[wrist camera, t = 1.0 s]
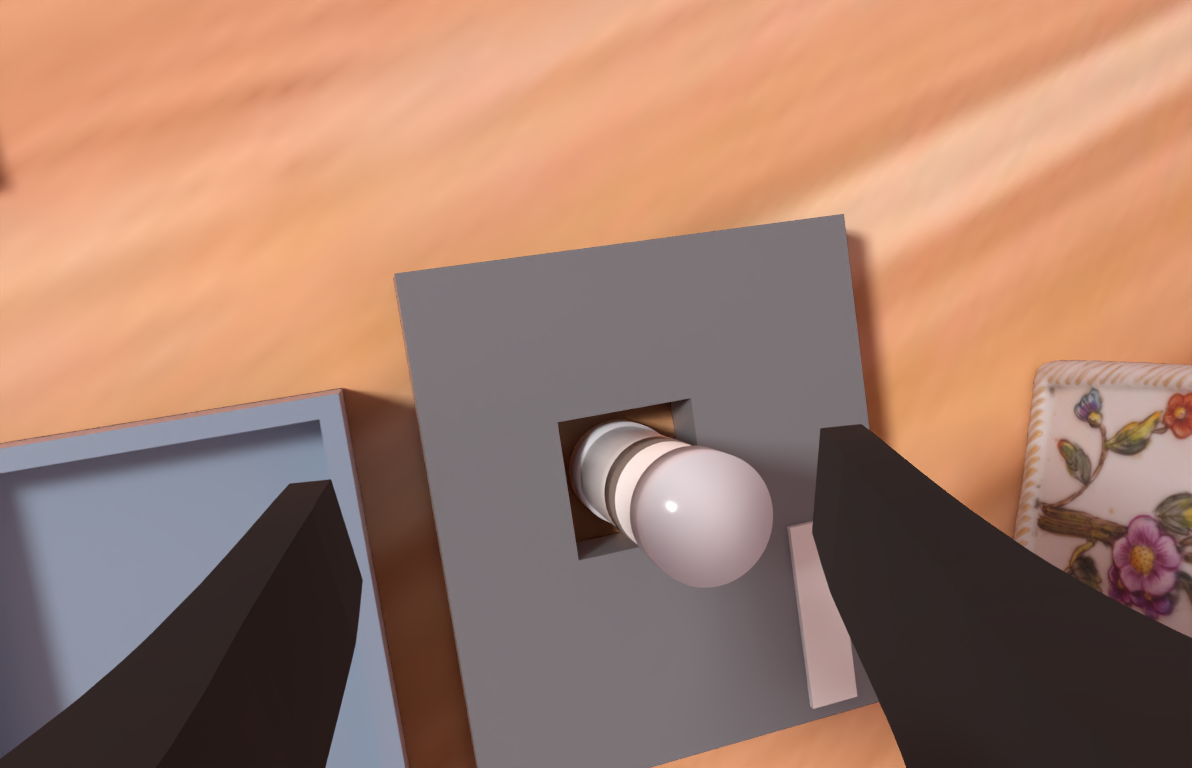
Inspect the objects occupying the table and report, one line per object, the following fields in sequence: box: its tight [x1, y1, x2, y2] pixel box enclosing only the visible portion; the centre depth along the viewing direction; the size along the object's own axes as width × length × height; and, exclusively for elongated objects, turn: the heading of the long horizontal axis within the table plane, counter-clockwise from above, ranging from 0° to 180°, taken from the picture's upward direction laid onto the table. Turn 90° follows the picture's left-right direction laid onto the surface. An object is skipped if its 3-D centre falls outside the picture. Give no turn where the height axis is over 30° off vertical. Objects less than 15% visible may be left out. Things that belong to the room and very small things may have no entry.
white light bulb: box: [569, 419, 773, 588], centre depth 24 cm, size 3×3×8 cm
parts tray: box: [0, 388, 410, 768], centre depth 23 cm, size 14×11×2 cm
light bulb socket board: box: [393, 214, 879, 768], centre depth 27 cm, size 16×14×2 cm
